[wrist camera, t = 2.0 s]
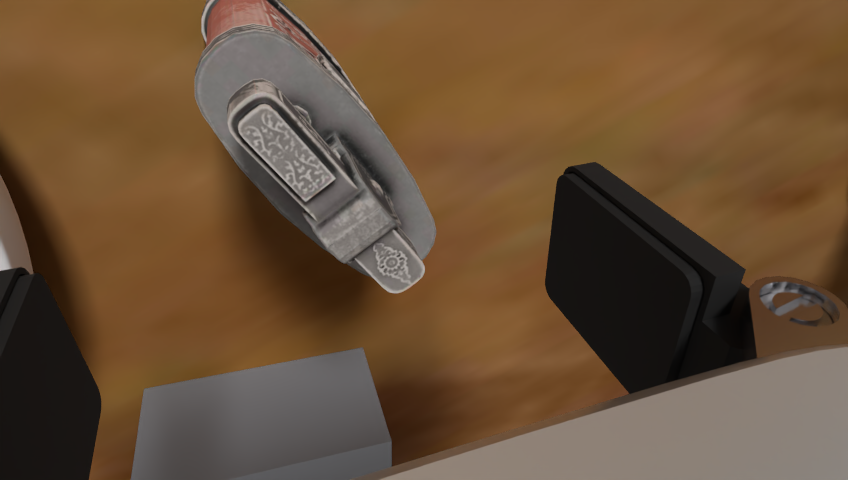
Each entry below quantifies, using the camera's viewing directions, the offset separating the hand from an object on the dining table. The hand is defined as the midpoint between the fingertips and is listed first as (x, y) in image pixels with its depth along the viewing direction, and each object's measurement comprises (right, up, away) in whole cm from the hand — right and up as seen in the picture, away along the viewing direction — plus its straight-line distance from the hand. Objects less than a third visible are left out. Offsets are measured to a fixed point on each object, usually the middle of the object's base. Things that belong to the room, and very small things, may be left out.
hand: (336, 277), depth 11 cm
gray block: (-6, -9, +19) cm, 22 cm away
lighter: (-3, +6, +10) cm, 12 cm away
